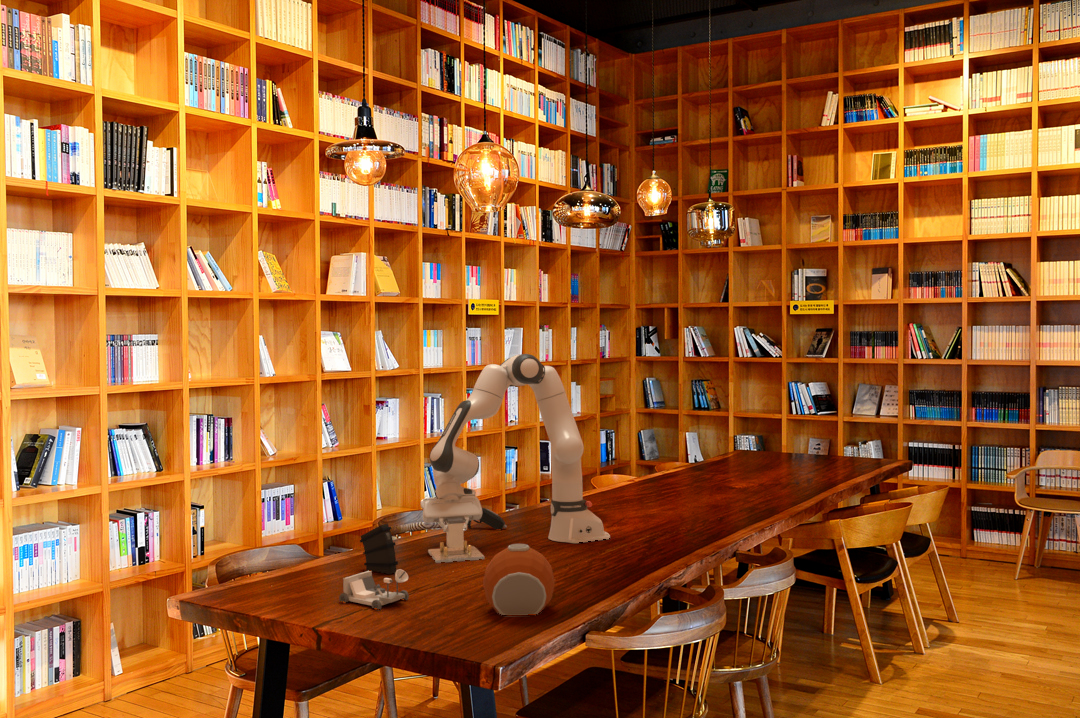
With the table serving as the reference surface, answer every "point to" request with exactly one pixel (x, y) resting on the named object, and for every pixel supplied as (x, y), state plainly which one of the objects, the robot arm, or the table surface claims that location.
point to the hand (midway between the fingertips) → (455, 530)
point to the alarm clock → (518, 581)
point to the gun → (490, 519)
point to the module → (455, 532)
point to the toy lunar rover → (372, 589)
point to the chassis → (455, 553)
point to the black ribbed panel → (379, 550)
